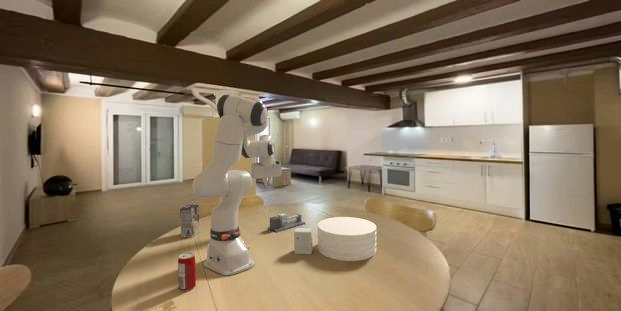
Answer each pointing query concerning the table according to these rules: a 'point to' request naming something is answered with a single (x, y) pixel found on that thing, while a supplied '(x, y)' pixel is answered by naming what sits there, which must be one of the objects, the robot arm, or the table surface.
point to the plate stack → (347, 238)
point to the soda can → (186, 271)
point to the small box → (303, 241)
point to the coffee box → (189, 220)
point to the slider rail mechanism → (277, 227)
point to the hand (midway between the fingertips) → (267, 185)
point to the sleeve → (283, 218)
